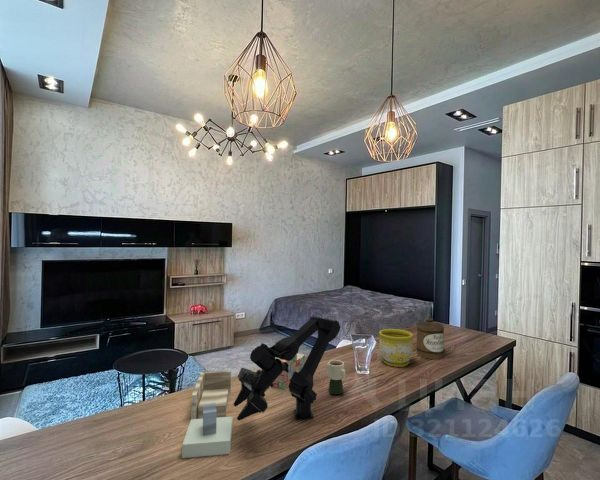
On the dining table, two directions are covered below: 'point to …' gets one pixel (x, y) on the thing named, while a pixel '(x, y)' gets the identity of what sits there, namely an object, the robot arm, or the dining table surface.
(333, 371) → the character mug
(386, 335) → the flowerpot
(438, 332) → the wooden container
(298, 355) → the stack of blocks
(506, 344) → the dining table surface
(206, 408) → the slate block
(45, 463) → the dining table surface
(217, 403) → the beige stepped piece
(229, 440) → the pad
